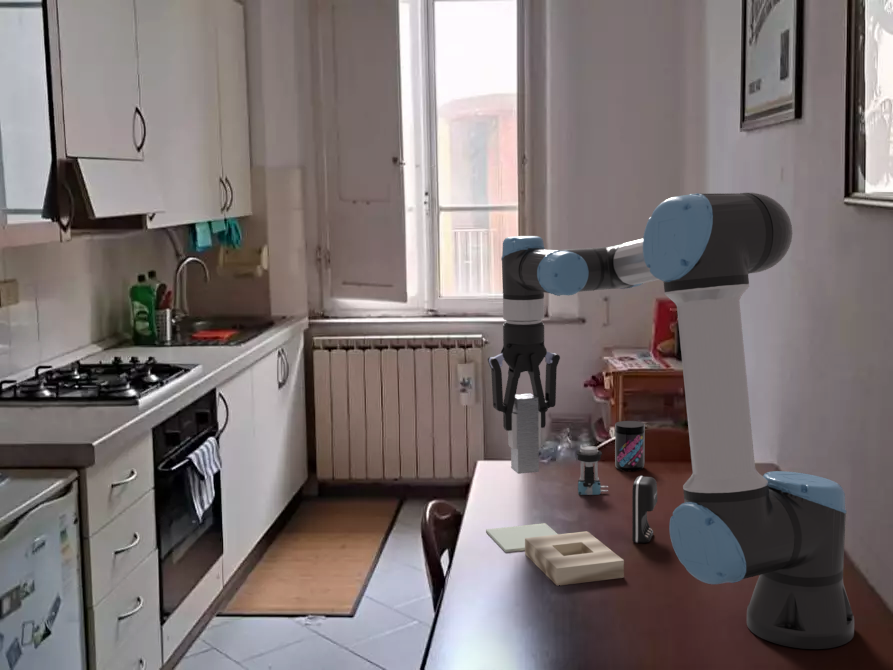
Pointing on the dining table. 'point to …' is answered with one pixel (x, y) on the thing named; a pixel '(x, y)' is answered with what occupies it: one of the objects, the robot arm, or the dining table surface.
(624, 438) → the supplement container
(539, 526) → the pad
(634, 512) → the key lock box
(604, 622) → the dining table surface
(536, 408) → the peg
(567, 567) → the socket block
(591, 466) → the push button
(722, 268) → the robot arm
